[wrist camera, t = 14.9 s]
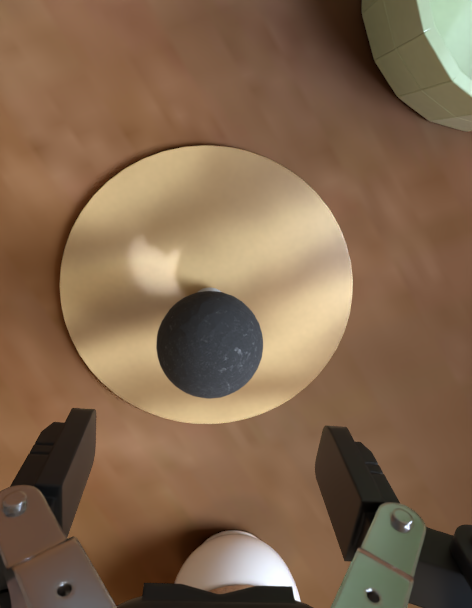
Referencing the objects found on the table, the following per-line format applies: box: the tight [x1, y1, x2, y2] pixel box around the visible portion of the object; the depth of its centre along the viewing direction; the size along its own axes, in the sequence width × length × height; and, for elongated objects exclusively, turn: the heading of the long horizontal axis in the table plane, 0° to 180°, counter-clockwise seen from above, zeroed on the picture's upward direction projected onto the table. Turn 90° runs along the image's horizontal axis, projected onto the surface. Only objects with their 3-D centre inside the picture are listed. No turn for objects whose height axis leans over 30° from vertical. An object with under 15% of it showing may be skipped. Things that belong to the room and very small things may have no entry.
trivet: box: [59, 145, 353, 424], centre depth 30 cm, size 20×20×1 cm
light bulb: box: [156, 288, 263, 399], centre depth 25 cm, size 6×6×10 cm
